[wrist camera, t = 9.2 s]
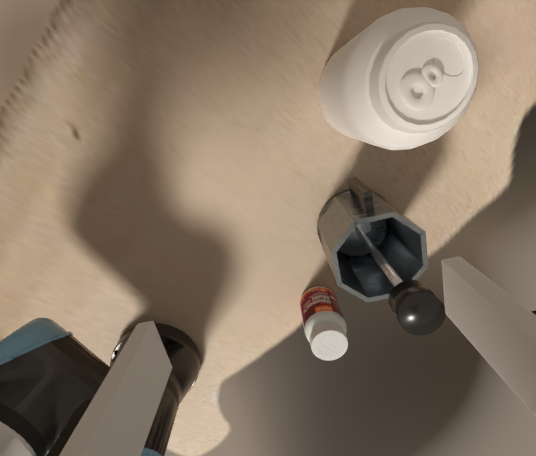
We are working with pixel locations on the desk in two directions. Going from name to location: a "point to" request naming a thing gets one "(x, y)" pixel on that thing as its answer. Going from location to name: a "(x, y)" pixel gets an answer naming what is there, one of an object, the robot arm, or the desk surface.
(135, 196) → the desk surface
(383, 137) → the can
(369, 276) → the grey octagonal container
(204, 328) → the desk surface
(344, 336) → the pill bottle
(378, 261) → the plunger
